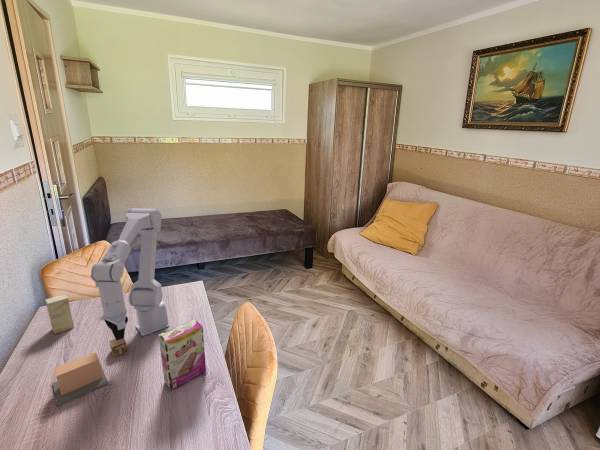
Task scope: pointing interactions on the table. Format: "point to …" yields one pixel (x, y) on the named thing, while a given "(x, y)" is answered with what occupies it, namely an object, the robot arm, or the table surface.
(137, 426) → the table surface
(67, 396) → the mat
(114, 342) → the brown cube
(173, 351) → the candy bar box
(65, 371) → the block
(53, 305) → the skincare box
